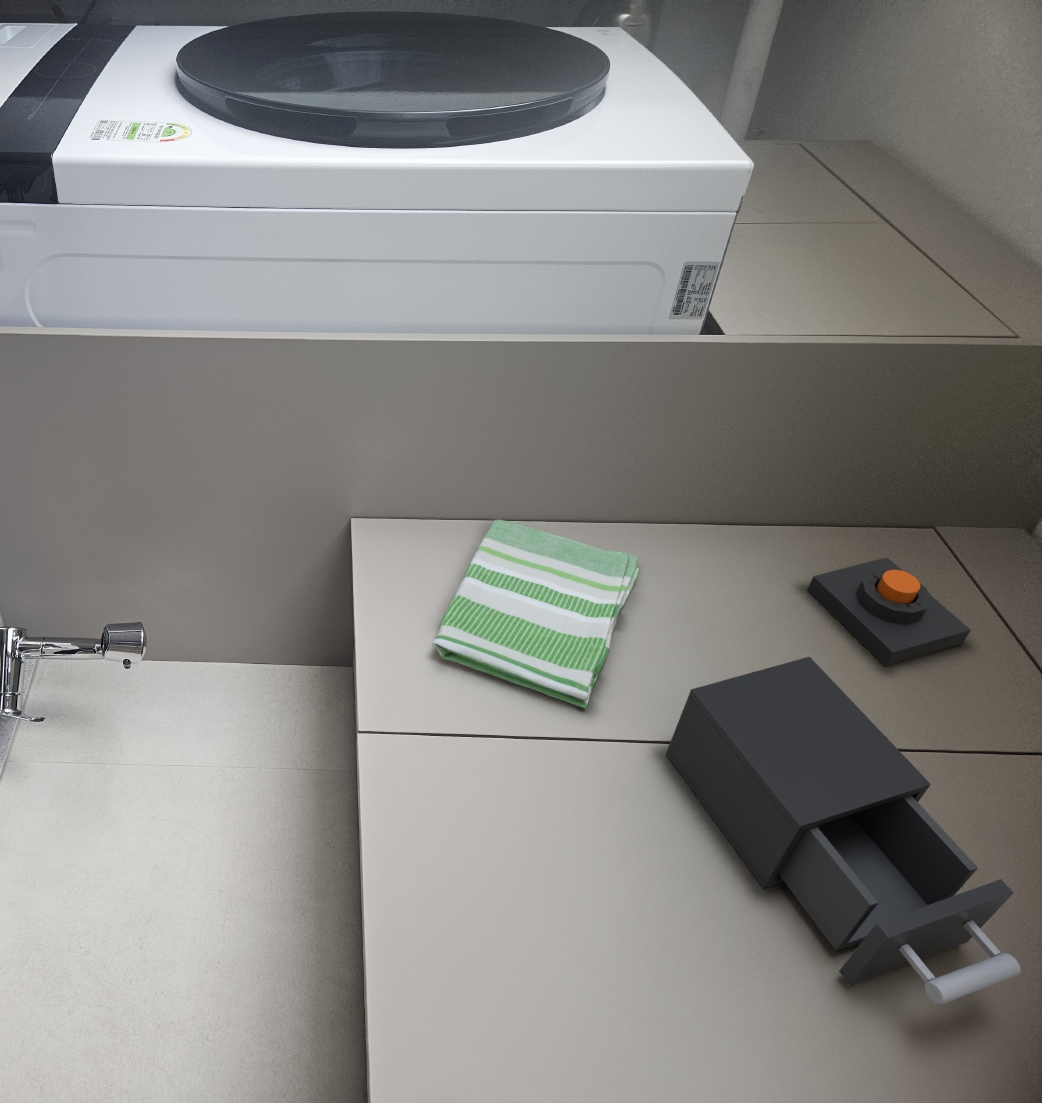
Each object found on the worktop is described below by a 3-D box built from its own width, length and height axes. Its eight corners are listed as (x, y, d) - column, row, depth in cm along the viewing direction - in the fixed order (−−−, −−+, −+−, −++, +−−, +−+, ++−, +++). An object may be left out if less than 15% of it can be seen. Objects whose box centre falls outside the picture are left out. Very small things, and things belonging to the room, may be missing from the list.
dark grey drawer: (1011, 993, 73) (1064, 946, 68) (890, 1041, 71) (934, 995, 66) (848, 803, 86) (882, 751, 81) (740, 838, 84) (767, 786, 78)
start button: (921, 600, 101) (928, 588, 100) (893, 607, 101) (900, 596, 99) (896, 578, 104) (902, 566, 103) (869, 585, 103) (875, 573, 102)
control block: (962, 644, 101) (979, 617, 99) (884, 666, 99) (899, 640, 97) (879, 571, 110) (893, 545, 107) (806, 590, 108) (819, 564, 105)
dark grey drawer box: (885, 847, 84) (931, 784, 77) (762, 888, 81) (800, 826, 75) (776, 721, 94) (809, 656, 88) (665, 754, 91) (690, 689, 85)
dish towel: (639, 570, 111) (644, 552, 109) (591, 714, 95) (596, 697, 93) (491, 527, 117) (493, 510, 115) (422, 657, 101) (424, 639, 99)
